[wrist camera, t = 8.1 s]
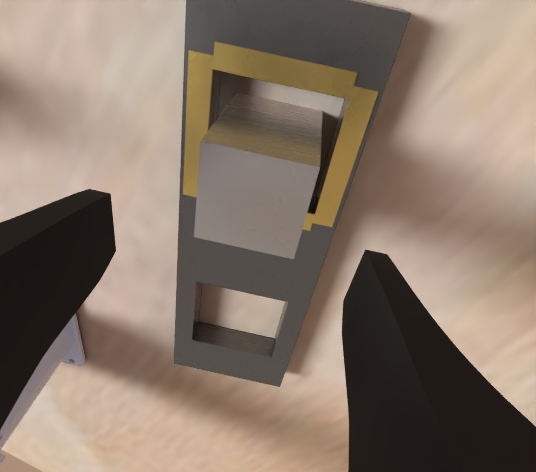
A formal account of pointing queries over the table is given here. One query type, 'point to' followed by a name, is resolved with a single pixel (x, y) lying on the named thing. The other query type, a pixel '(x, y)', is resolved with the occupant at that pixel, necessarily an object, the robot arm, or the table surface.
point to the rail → (333, 178)
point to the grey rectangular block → (258, 175)
